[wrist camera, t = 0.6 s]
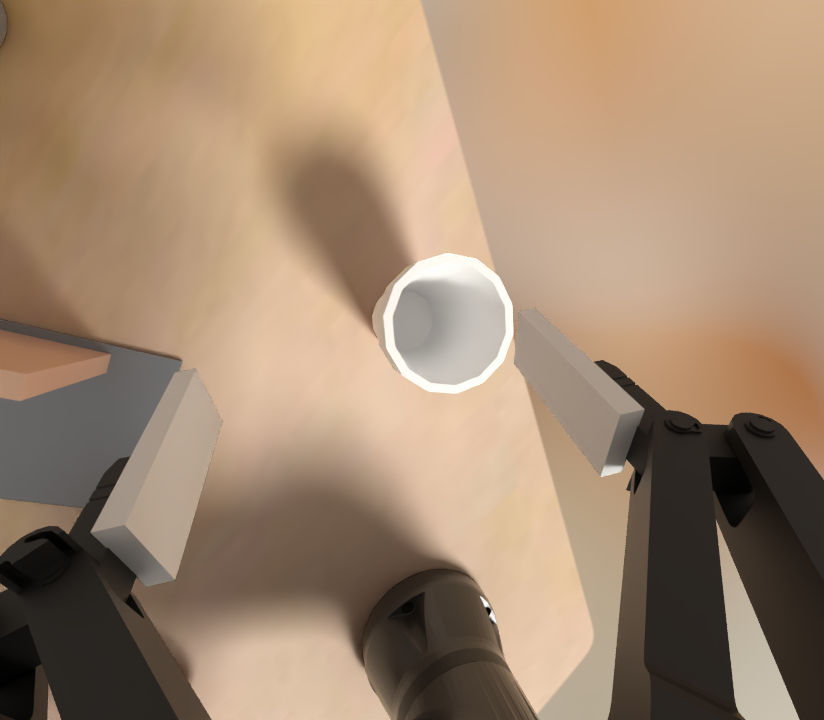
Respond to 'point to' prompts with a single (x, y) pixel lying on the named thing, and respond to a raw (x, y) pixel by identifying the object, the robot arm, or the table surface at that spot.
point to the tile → (43, 365)
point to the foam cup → (445, 323)
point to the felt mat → (78, 423)
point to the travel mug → (2, 23)
